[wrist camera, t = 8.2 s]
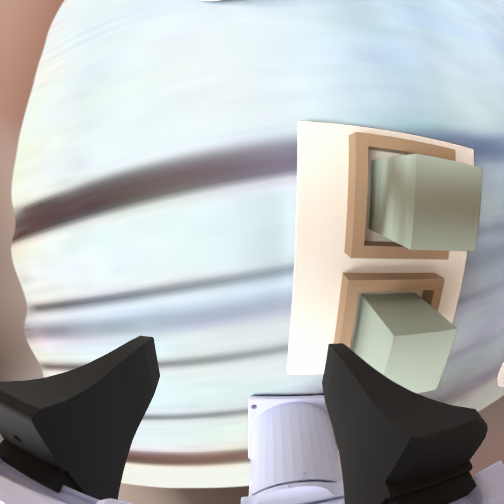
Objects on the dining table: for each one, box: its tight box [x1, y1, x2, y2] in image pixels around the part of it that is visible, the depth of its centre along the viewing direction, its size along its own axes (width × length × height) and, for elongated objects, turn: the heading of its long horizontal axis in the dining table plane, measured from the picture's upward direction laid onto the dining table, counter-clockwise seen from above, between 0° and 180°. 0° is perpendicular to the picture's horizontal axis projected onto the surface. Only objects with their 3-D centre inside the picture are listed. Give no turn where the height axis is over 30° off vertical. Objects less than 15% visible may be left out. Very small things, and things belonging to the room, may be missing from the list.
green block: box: [369, 154, 482, 252], centre depth 15 cm, size 4×4×6 cm
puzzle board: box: [287, 121, 474, 393], centre depth 16 cm, size 18×14×7 cm
